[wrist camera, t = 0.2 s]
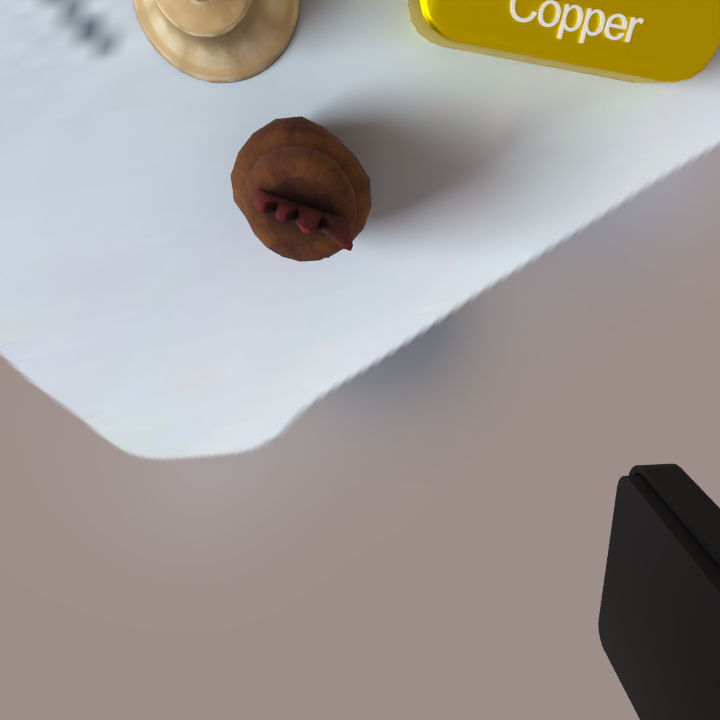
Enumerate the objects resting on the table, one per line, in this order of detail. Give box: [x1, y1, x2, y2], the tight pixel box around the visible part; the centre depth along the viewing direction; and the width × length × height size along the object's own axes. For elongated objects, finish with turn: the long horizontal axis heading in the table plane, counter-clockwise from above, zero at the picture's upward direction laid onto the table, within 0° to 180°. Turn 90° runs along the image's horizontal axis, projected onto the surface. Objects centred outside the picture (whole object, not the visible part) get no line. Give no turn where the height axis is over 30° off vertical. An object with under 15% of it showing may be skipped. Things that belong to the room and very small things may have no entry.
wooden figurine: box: [231, 116, 371, 261], centre depth 31 cm, size 7×6×15 cm
